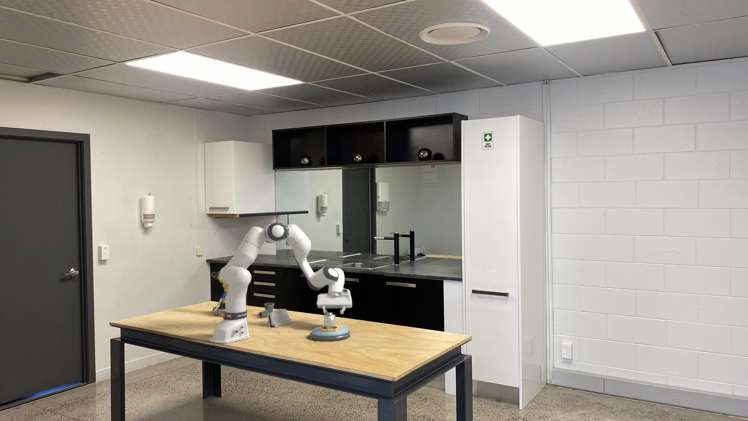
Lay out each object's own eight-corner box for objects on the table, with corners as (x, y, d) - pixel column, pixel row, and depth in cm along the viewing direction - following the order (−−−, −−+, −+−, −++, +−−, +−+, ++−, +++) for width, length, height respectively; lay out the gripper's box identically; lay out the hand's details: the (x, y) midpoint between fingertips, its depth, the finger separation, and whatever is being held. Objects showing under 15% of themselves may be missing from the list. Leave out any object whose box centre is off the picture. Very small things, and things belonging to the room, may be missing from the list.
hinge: (275, 327, 323) (270, 311, 325) (269, 329, 325) (264, 313, 327) (292, 321, 338) (288, 306, 339) (287, 323, 340) (282, 308, 341)
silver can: (330, 331, 295) (330, 314, 295) (322, 330, 299) (321, 313, 298) (337, 329, 300) (337, 312, 300) (328, 328, 304) (328, 311, 303)
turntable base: (334, 343, 284) (334, 339, 284) (301, 338, 296) (301, 334, 296) (358, 334, 303) (357, 330, 303) (326, 329, 315) (326, 326, 315)
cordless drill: (239, 309, 380) (238, 269, 379) (241, 314, 362) (240, 273, 361) (211, 311, 375) (210, 271, 374) (212, 317, 357) (211, 274, 356)
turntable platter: (333, 338, 286) (333, 333, 286) (304, 334, 297) (303, 329, 297) (355, 330, 303) (355, 325, 302) (326, 326, 313) (326, 322, 313)
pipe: (257, 318, 351) (256, 305, 350) (269, 314, 362) (269, 302, 362) (264, 318, 348) (264, 306, 348) (277, 315, 359) (276, 302, 359)
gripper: (317, 290, 320) (314, 310, 310) (352, 290, 318) (350, 310, 309) (318, 296, 324) (316, 316, 315) (353, 296, 323) (351, 316, 313)
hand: (333, 313), depth 312 cm, fingers open, 8 cm apart
